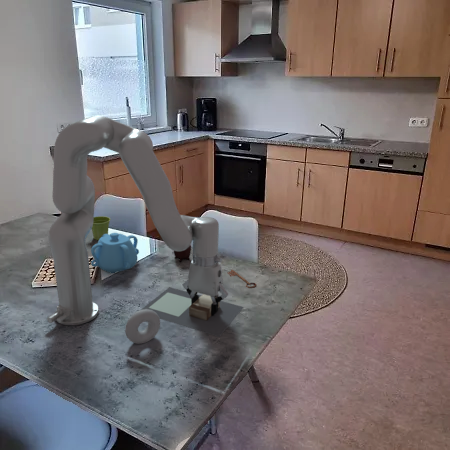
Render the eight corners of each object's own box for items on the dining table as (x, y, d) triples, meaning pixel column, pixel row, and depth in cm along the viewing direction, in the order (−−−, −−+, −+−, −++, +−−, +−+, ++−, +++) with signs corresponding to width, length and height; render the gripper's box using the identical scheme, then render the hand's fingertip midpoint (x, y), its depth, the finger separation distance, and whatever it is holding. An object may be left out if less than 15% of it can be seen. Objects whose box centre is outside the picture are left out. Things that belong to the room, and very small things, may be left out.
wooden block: (206, 320, 123) (206, 311, 122) (189, 315, 125) (189, 306, 124) (219, 306, 131) (219, 298, 130) (202, 302, 133) (202, 293, 132)
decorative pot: (86, 273, 151) (82, 239, 146) (105, 256, 165) (103, 224, 161) (128, 278, 148) (125, 244, 143) (144, 260, 163) (142, 228, 158)
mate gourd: (188, 263, 161) (188, 228, 156) (169, 261, 162) (168, 226, 157) (192, 255, 168) (192, 221, 163) (174, 254, 169) (173, 220, 164)
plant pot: (116, 237, 185) (115, 218, 182) (100, 243, 177) (98, 224, 175) (101, 232, 190) (100, 214, 187) (85, 238, 182) (83, 220, 179)
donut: (157, 333, 117) (156, 302, 114) (162, 339, 115) (162, 308, 111) (124, 344, 112) (122, 313, 108) (129, 351, 109) (127, 319, 106)
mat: (219, 338, 116) (219, 336, 115) (138, 313, 127) (138, 311, 126) (243, 308, 131) (243, 306, 131) (169, 288, 142) (169, 286, 142)
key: (223, 274, 155) (244, 291, 143) (223, 272, 155) (244, 289, 142) (236, 270, 158) (258, 286, 145) (236, 268, 157) (258, 284, 145)
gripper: (236, 259, 122) (234, 312, 128) (186, 248, 128) (186, 298, 134) (226, 269, 115) (224, 324, 121) (173, 257, 122) (174, 309, 128)
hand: (204, 310), depth 128 cm, fingers closed on wooden block, 5 cm apart
